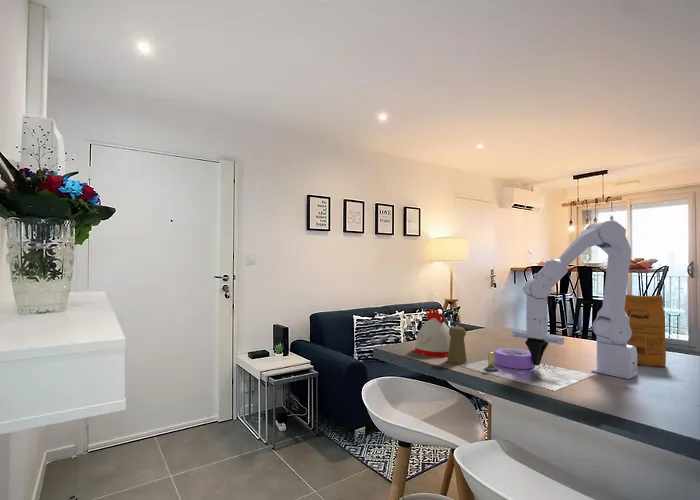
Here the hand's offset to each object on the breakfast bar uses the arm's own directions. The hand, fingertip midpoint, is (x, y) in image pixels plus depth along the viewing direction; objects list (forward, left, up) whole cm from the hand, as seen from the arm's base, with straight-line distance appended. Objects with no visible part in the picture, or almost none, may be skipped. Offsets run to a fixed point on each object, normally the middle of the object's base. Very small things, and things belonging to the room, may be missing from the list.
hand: (536, 364), depth 116 cm
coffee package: (-15, -37, -2) cm, 40 cm away
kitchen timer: (+33, +7, -2) cm, 33 cm away
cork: (+20, +12, -2) cm, 23 cm away
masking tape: (+7, 0, -2) cm, 7 cm away
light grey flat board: (+2, +4, -1) cm, 5 cm away
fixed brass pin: (+8, +12, -1) cm, 14 cm away
